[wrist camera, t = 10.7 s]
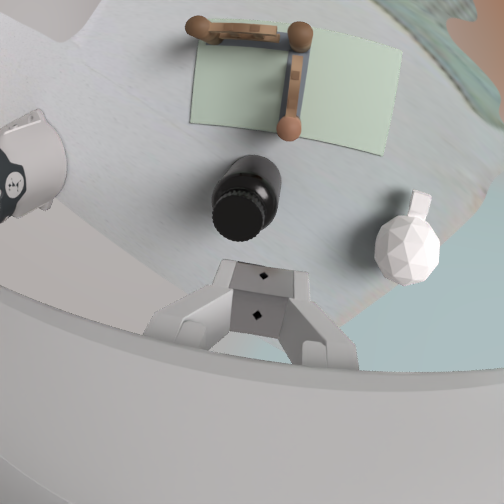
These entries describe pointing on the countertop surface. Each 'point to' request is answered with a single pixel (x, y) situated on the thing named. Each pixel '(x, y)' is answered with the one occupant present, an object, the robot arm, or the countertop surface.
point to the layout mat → (311, 86)
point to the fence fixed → (249, 32)
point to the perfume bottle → (408, 244)
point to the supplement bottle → (246, 198)
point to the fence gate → (292, 104)
